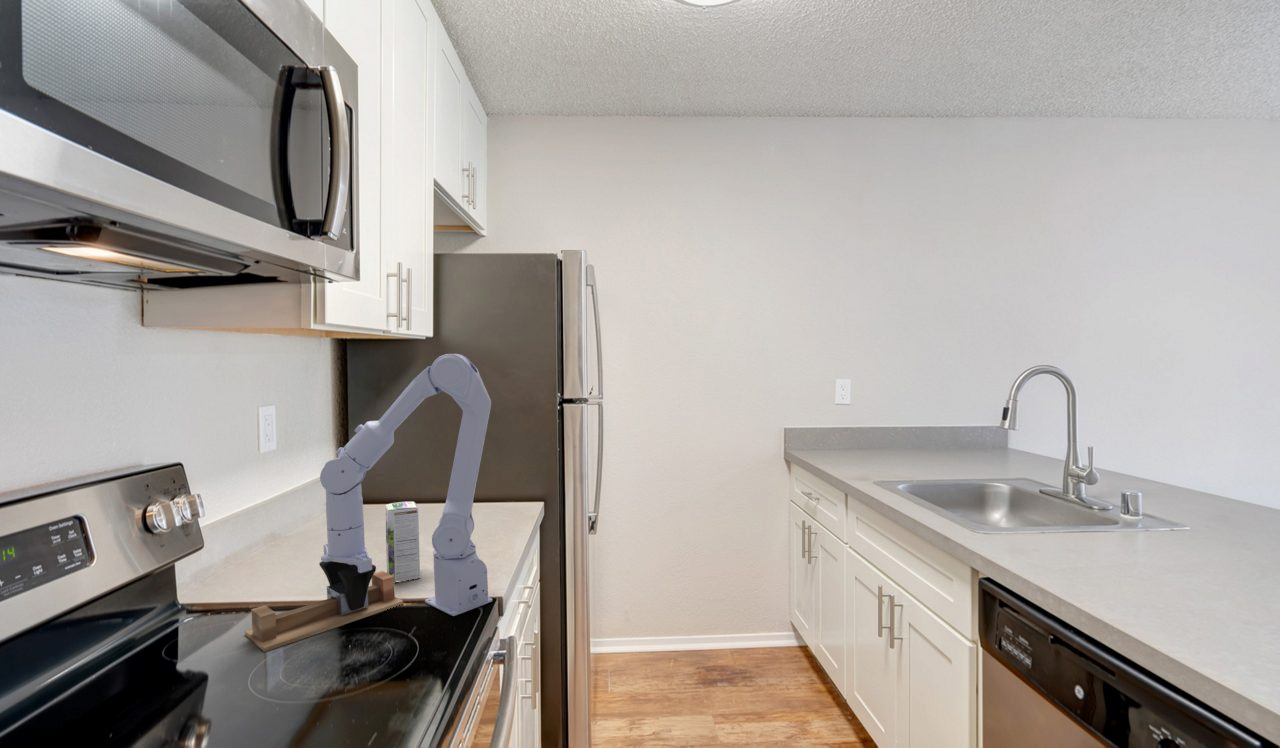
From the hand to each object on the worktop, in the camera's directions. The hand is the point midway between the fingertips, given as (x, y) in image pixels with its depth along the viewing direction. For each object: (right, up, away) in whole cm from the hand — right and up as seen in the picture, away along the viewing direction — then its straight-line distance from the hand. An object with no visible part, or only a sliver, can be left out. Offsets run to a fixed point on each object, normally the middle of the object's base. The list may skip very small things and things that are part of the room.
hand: (349, 603), depth 106 cm
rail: (-2, -2, -3) cm, 4 cm away
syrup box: (+3, -1, +16) cm, 16 cm away
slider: (0, -1, 0) cm, 1 cm away
